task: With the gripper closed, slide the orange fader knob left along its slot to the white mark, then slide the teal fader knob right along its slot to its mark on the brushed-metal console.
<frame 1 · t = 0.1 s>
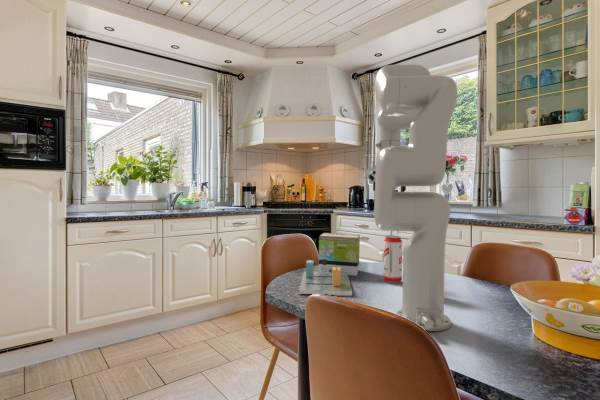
hand: (389, 192, 128), 31 cm above the table, tool pointing down, fingers open, 9 cm apart
fader teal: (309, 268, 122), point 4 cm above the table, slide at 0.0 cm
fader orange: (336, 276, 111), point 4 cm above the table, slide at 0.0 cm
tea box: (339, 272, 135), on the table
console: (325, 284, 117), on the table
beer can: (392, 282, 121), on the table
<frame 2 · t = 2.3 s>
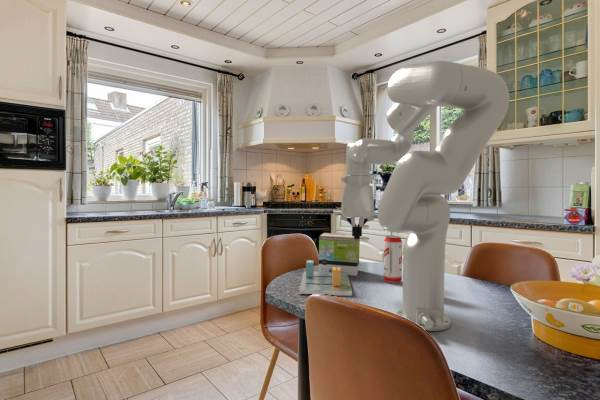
hand: (356, 238, 111), 16 cm above the table, tool pointing down, fingers closed
nothing on the table moved.
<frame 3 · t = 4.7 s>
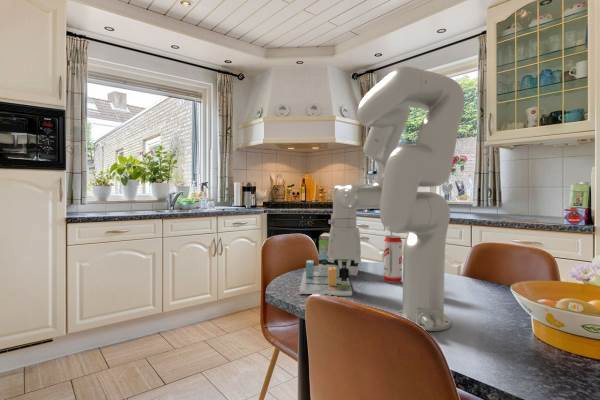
hand: (343, 280, 111), 3 cm above the table, tool pointing down, fingers closed
fader orange: (332, 276, 112), point 4 cm above the table, slide at 1.4 cm, touching gripper
everything else where it was.
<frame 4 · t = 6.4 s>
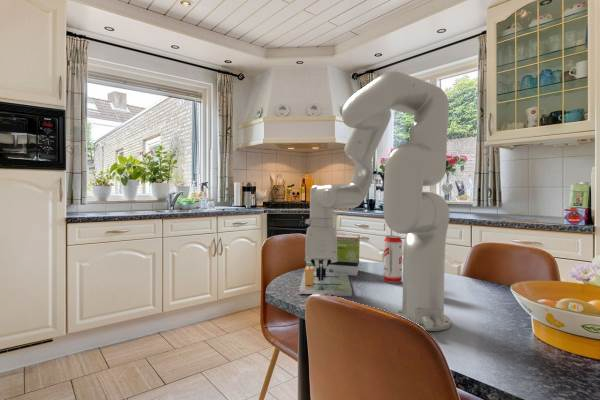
hand: (320, 279, 112), 3 cm above the table, tool pointing down, fingers closed
fader orange: (309, 275, 112), point 4 cm above the table, slide at 8.8 cm, touching gripper
everything else where it was.
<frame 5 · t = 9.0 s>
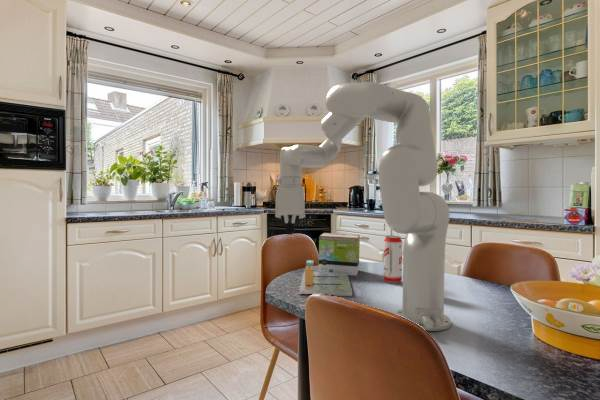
hand: (289, 234, 122), 16 cm above the table, tool pointing down, fingers closed
fader orange: (309, 275, 112), point 4 cm above the table, slide at 8.8 cm
everything else where it was.
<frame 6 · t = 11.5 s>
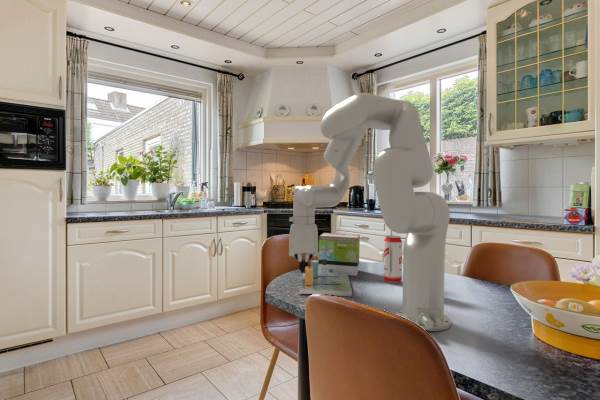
hand: (303, 272, 122), 3 cm above the table, tool pointing down, fingers closed
fader teal: (314, 268, 122), point 4 cm above the table, slide at 1.6 cm, touching gripper
everything else where it was.
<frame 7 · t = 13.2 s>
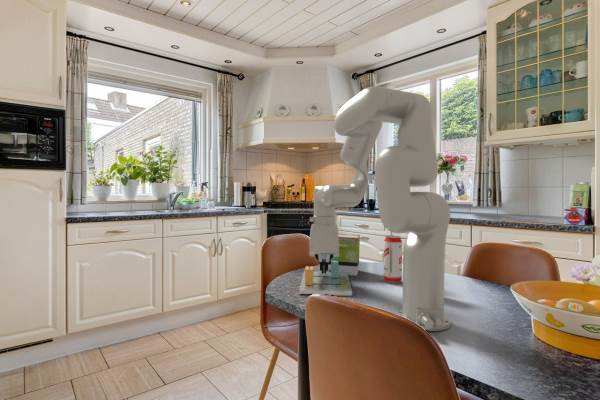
hand: (323, 272, 122), 3 cm above the table, tool pointing down, fingers closed
fader teal: (334, 269, 121), point 4 cm above the table, slide at 8.7 cm, touching gripper
everything else where it was.
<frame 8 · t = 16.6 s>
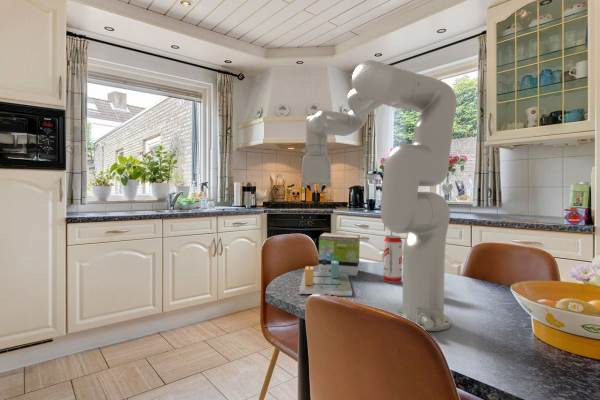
hand: (316, 203, 121), 27 cm above the table, tool pointing down, fingers closed
fader teal: (334, 269, 121), point 4 cm above the table, slide at 8.8 cm
everything else where it was.
at the end: fader orange slide at 8.8 cm; fader teal slide at 8.8 cm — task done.
